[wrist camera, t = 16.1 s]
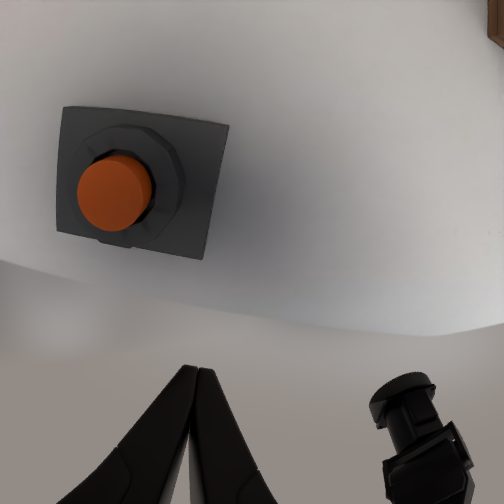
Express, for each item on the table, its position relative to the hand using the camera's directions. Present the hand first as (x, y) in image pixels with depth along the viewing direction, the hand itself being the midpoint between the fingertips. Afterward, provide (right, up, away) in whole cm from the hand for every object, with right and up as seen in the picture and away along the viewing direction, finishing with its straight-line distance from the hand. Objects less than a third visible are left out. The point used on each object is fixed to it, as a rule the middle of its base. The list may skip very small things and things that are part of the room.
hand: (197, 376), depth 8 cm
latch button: (-5, +7, +7) cm, 11 cm away
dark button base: (-6, +8, +9) cm, 14 cm away
